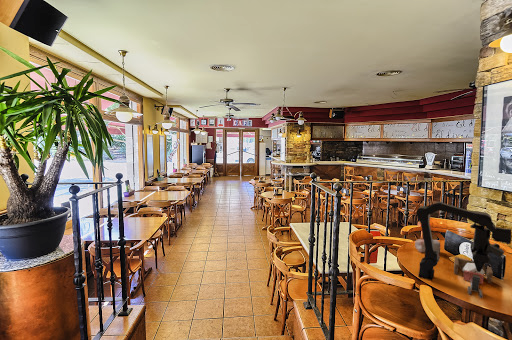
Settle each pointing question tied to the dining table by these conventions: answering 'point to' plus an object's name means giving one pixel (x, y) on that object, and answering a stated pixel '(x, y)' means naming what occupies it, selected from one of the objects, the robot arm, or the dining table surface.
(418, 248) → the food item
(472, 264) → the grey pyramid roof
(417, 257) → the dining table surface
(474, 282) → the red block
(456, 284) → the dining table surface
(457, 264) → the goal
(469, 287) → the rod bushings
